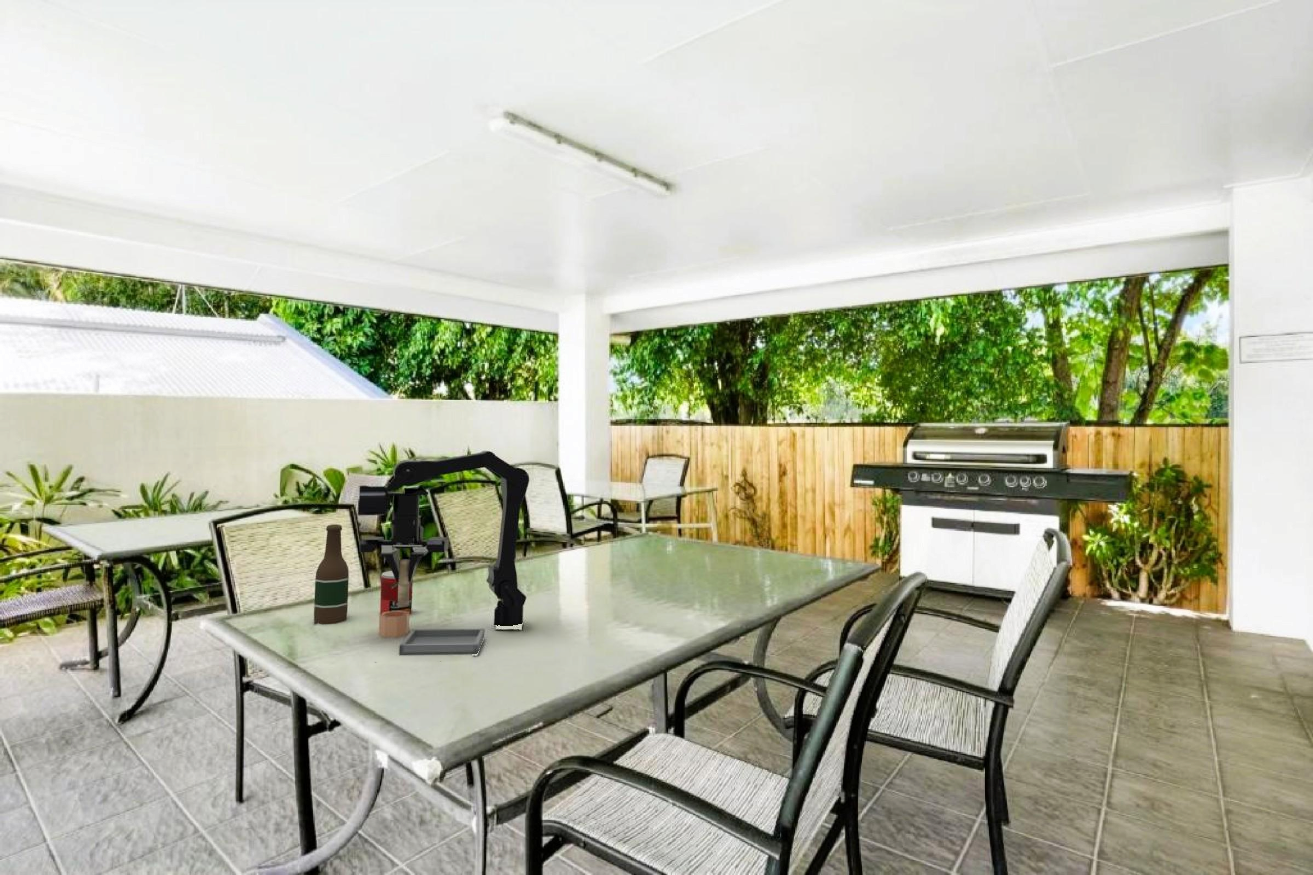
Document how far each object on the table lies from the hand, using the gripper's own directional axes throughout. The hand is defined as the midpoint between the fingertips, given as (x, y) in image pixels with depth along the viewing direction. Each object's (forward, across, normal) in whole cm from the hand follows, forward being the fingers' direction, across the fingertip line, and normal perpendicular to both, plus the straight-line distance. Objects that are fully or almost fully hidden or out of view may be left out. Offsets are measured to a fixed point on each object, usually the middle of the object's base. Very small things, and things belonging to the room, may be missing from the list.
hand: (404, 581), depth 151 cm
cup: (+13, +2, -2) cm, 13 cm away
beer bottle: (+13, +20, -13) cm, 28 cm away
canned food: (+13, +6, -19) cm, 24 cm away
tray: (+13, -11, +8) cm, 19 cm away
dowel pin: (+6, 0, 0) cm, 6 cm away
